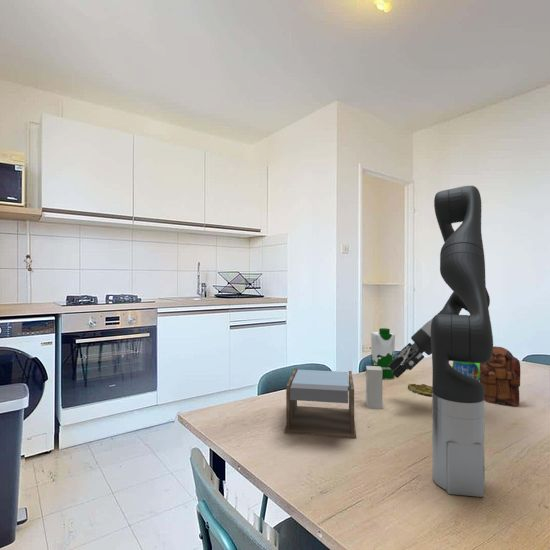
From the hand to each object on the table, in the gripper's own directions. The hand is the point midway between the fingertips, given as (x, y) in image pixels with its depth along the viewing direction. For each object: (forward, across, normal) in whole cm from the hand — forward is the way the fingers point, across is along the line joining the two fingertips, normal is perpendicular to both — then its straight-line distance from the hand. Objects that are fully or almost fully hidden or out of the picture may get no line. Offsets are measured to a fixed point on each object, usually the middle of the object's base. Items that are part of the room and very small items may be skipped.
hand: (392, 371), depth 114 cm
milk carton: (+7, -36, +9) cm, 38 cm away
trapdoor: (+16, +20, -15) cm, 29 cm away
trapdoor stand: (+23, +16, -8) cm, 29 cm away
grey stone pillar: (+12, 0, +4) cm, 12 cm away
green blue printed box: (-15, -31, +31) cm, 46 cm away
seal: (-2, -18, +18) cm, 26 cm away
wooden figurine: (-17, -11, +33) cm, 39 cm away
